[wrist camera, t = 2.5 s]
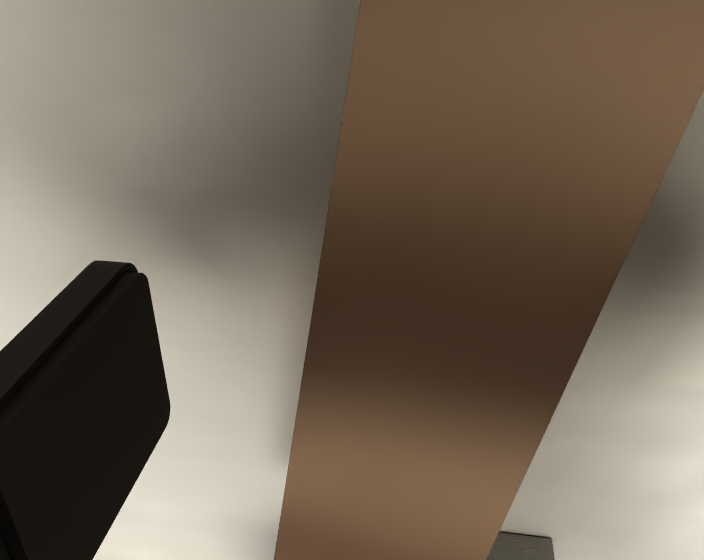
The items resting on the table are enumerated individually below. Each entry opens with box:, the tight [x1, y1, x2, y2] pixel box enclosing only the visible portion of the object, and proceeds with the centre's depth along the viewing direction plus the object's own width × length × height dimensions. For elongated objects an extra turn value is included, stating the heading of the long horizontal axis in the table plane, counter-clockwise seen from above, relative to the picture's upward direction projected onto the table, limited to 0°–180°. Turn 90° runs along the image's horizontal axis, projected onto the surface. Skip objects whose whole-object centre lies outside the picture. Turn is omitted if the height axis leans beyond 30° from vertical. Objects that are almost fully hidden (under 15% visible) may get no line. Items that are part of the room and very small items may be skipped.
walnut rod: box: [274, 0, 704, 560], centre depth 11 cm, size 16×4×4 cm, turn 171°
